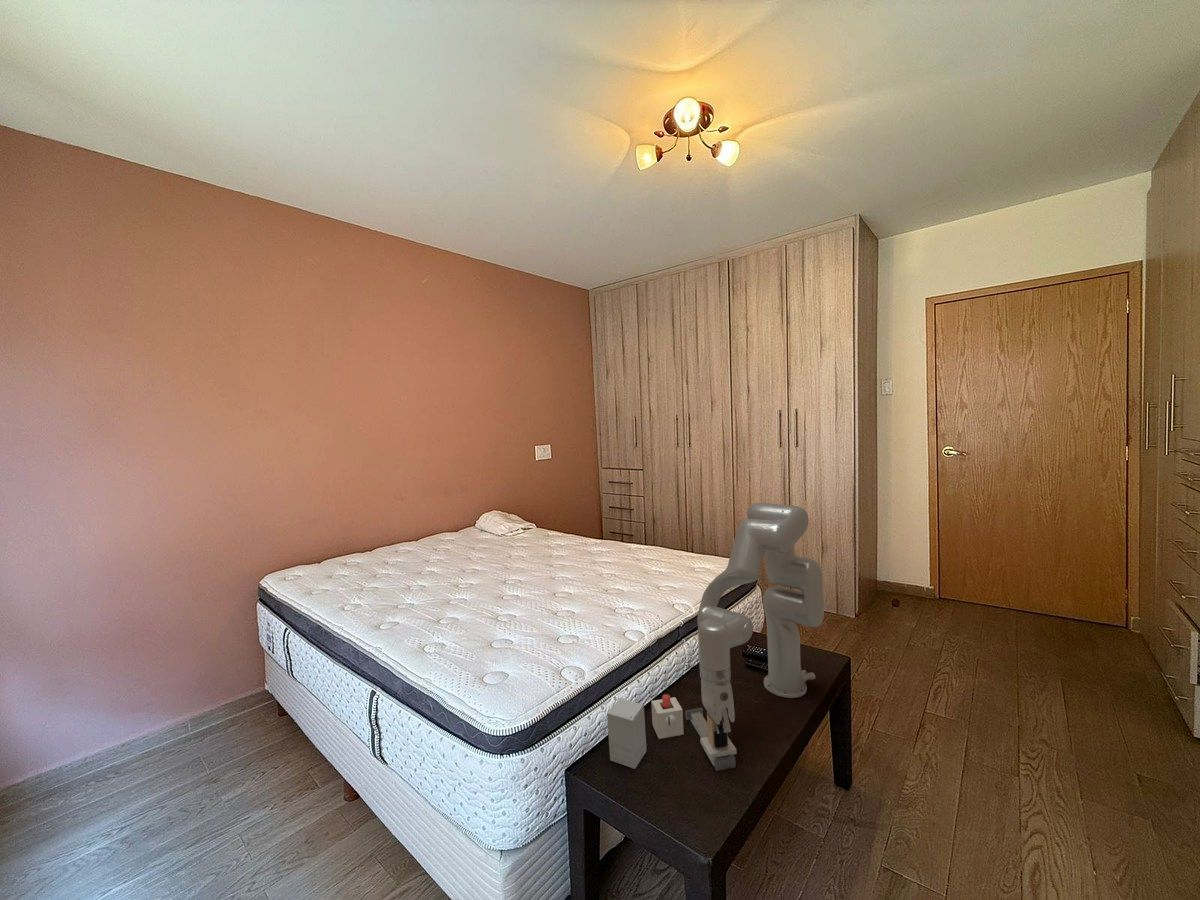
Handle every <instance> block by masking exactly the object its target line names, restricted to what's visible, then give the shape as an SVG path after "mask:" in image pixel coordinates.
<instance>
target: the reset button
mask: <svg viewBox="0 0 1200 900" xmlns="http://www.w3.org/2000/svg"><path fill="white" fill-rule="evenodd" d="M661 697H662V698H661V699H662V702H663V710H664V709H670V708H671V701H670V698H671V695H670V694H668V693H666V694H665V693H664V694H662V696H661Z"/></svg>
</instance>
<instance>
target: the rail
mask: <svg viewBox="0 0 1200 900" xmlns="http://www.w3.org/2000/svg"><path fill="white" fill-rule="evenodd" d="M685 720H686V721H689V720H690V722H691V724H692V725H693V727H694V729H695V730H696V732H697V733H698V735H699V737H700V738H703V737H708V728H707V719H706V718H705V717H704V708H703V707H698V708H692V709H691V708H690V709H686V710H685ZM733 768H737V767H736V757H735V755H733V756H729V755H728V756H722V757H717V759H715V766H714V769H715V771H716V772H718V771H724V770H729V769H733Z"/></svg>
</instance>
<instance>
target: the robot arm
mask: <svg viewBox="0 0 1200 900" xmlns="http://www.w3.org/2000/svg"><path fill="white" fill-rule="evenodd" d="M746 513H747V514H746V515H747V519H743V520H741V521H740V523H739V525H737V526H738V527H737V528H736V529H737V530H736V533H735V537H734V541H733V543H732V547H731V548H732V549H731V552H730V556H729V559H728V563H727V567H726V569H724V570H723V571H722V572H721V573H719V574H717V576H716V577H715V578H713V580H712V581H710V583H709V584H708V585H707V587H705V589H704V592H703V594H702V597H701V600H700V605H699V607H698V613H697V619H696V620H697V636H698V638H697V640H698V659H699V660H698V661H699V676H700V679H701V680H700V685H701V687H700V690H701V692H700V694H701V702H702V705H703V707H704V709H705V710H706V715H707V714H710V716H711V717H712V719H713V720H714V722H715V730H716V731H714V742H715V747H716V748H720V747H726V746H727V745H728V743H727V733H731V731H732V729H731V724H730V723H735V719H736V716H735V715H736V713H735V704H734V695H733V689H732V683H731V678H732V675H731V649H732V648H734V647H738V646H741V645H743V644H747V642H748V641H749V640H750V639H751V638H752V635H753V633H754V624H753V622H752V620H751V618H750V617H748V616H747V615H745V614H743V613H739V612H736V611H731V610H729V609H726V608H722V607H718V604H719V601H720V599H721V597H722V596H723V595H724V594H725V593H726V592H727V591H728V590H731V589H733V588H735V587H738V586H742V585H746V584H751V583H754V582H756V581H757V580H758V579H759V577H760V574H761V571H762V570H761V569H762V565H763V561H764V559H765V572H766V576H767V579H768V581H769V582H771V583H773V584H775V585H776V586H771V587H768V588H767V589H766V590H765V591H764V592H763V595H762V606H763V611H764V615H765V621H766V636H767V637H766V638H767V641H766V642H767V664H768V665H767V666H768V667H767V668H768V674H767V675H766V676H765V677H763V686H764V688H765V689H766V690H767V691H768V692H769V693H771V694H772V695H775V696H778V697H781V698H788V699H795V698H797V699H798V698H800V697H803V696H804V695H806V694H807V691H808V687H807V684H806V682H807V681H808V680H809V681H811V680H815V679H816V675H815V673H814V672H807V670H805V669H802V667H801V665H802V663H801V634H800V631H799V628H798V626H797V625H798V624H799V625H802V626H806V627H809V628H810V627H811V628H815V627H816V628H817V627H819V626H821V624H822V623H823V621H824V616H825V601H824V599H825V597H824V596H825V595H824V579H823V578H824V577H823V571H822V567H821V566H820V564H819V562H817V561H816V560H814V559H813V558H809V557H803V556H802V557H801V556H797V555H796V553H795V545H796V543H797V542H798V541H799V540H800V539H801V538H802V537H803V536H804V534H805V533H806V532H807V530H808V526H809V523H810V522H809V521H810V519H809V514H808V513H807V511H806V509H805V508H803V507H801V506H798V505H791V504H789V505H787V504H778V503H770V502H769V503H767V502H755V503H752V504H750V505H749V506H748V507H747V510H746ZM764 557H765V558H764ZM777 585H778V586H777ZM720 723H723V726H720V727H719V725H720Z"/></svg>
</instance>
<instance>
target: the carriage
mask: <svg viewBox="0 0 1200 900" xmlns="http://www.w3.org/2000/svg"><path fill="white" fill-rule="evenodd" d="M706 722H707V728H708V737H703V738H701V737H700V739H699V742H700V744H701V746H702V748H703V750H704V752H705V754H706V755H707V758H708V759H709V761H710V762H711V764H712V766H713V767H715V759H717V757H722V756H728V755H729V756H734V755H737V748H736V747H735V745H734V744H733V742H732V740H731V739H730V738H729V736H728V735H729V734H728V733H729V732H727V743H728V745H727V746H726V747H720V748H716V747H715V742H714V731H716V730H715V722H714V720H713V719H712V717H711V716H710V714H707V713H706ZM720 726H723V723H720V725H719V727H720Z"/></svg>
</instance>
